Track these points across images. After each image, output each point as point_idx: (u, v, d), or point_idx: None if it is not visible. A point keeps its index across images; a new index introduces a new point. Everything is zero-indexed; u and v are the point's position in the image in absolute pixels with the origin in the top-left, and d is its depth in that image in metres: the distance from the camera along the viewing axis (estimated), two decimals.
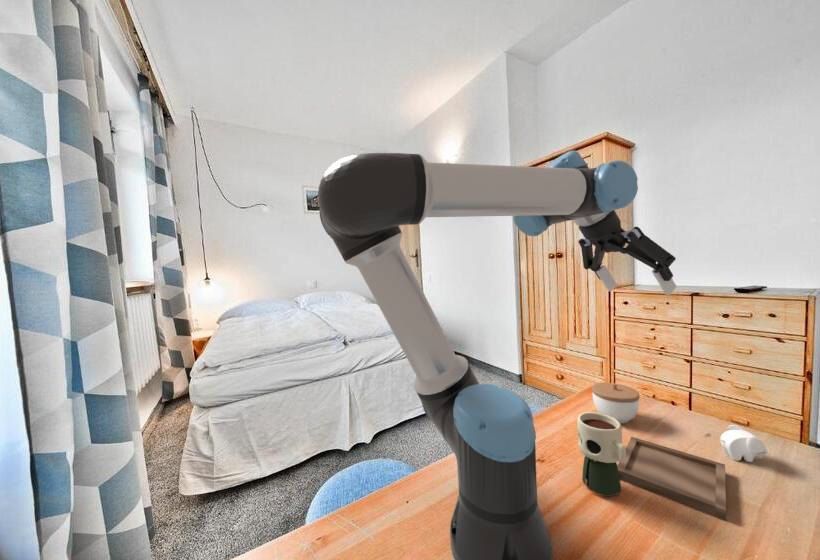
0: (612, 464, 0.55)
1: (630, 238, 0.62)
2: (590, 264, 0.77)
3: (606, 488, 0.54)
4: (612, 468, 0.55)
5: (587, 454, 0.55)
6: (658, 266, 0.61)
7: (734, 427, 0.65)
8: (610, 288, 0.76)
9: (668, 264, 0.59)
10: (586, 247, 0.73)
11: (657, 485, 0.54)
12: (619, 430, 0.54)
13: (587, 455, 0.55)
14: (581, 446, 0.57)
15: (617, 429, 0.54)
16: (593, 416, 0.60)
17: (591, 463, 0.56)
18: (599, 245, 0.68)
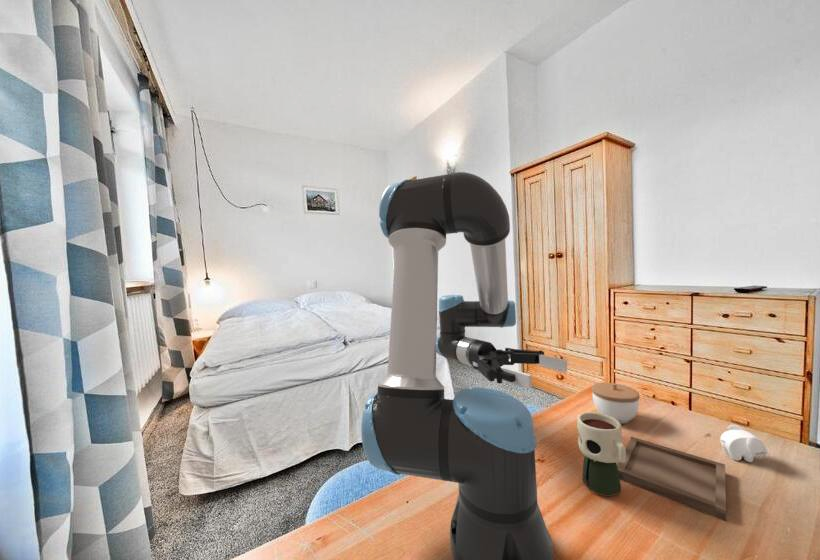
0: (612, 464, 0.55)
1: (508, 349, 0.81)
2: None
3: (606, 488, 0.54)
4: (612, 468, 0.55)
5: (587, 454, 0.55)
6: None
7: (734, 427, 0.65)
8: None
9: None
10: None
11: (657, 485, 0.54)
12: (619, 430, 0.54)
13: (587, 455, 0.55)
14: (581, 446, 0.57)
15: (617, 429, 0.54)
16: (593, 416, 0.60)
17: (591, 463, 0.56)
18: (492, 351, 0.76)
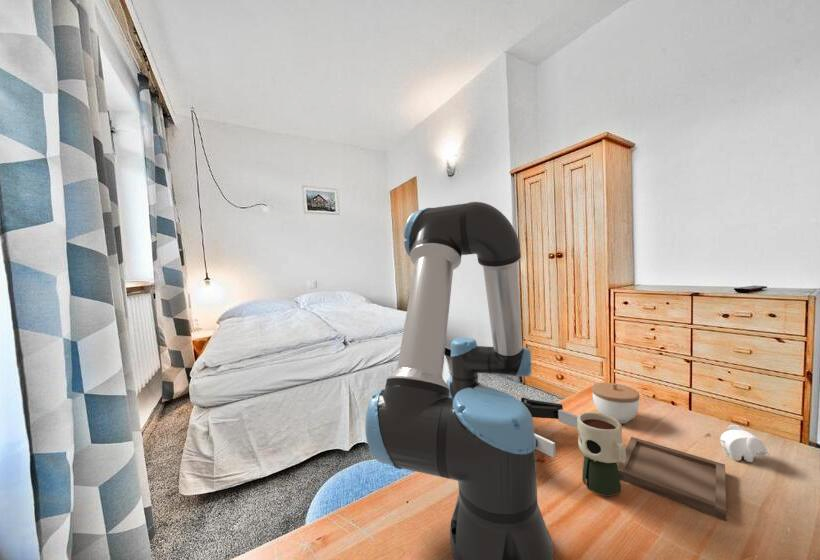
0: (612, 464, 0.55)
1: (525, 399, 0.78)
2: None
3: (606, 488, 0.54)
4: (612, 468, 0.55)
5: (587, 454, 0.55)
6: None
7: (734, 427, 0.65)
8: None
9: None
10: None
11: (657, 485, 0.54)
12: (619, 430, 0.54)
13: (587, 455, 0.55)
14: (581, 446, 0.57)
15: (617, 429, 0.54)
16: (593, 416, 0.60)
17: (591, 463, 0.56)
18: None
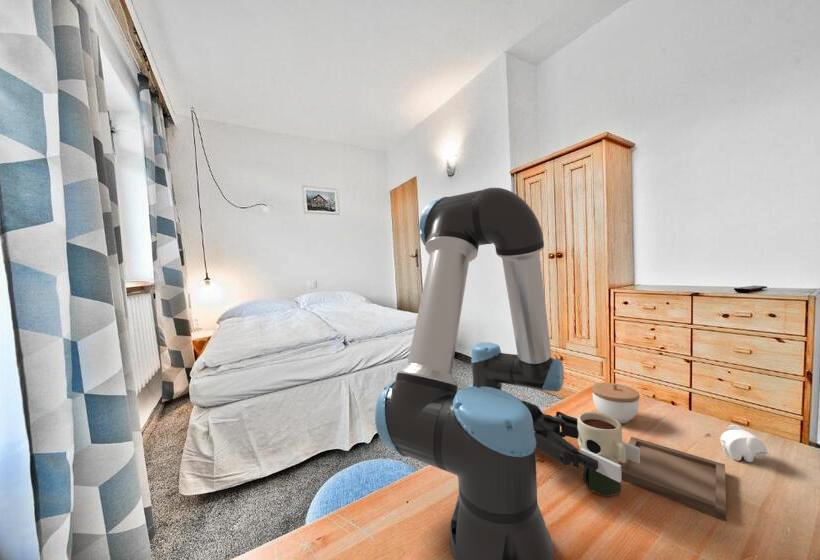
0: None
1: (560, 414, 0.69)
2: None
3: (606, 488, 0.54)
4: None
5: None
6: None
7: (735, 427, 0.65)
8: None
9: None
10: None
11: (657, 485, 0.54)
12: (619, 430, 0.54)
13: None
14: (581, 446, 0.57)
15: (617, 429, 0.54)
16: (593, 416, 0.60)
17: None
18: (540, 419, 0.66)
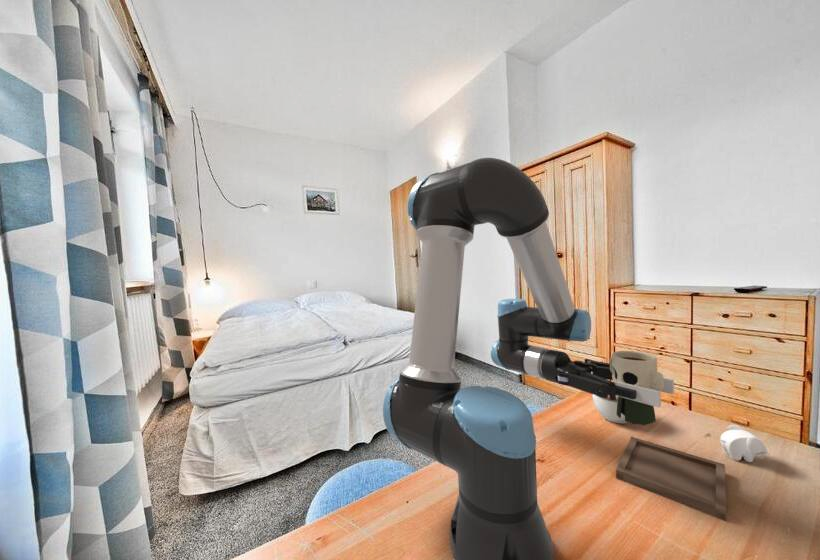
0: None
1: (588, 360, 0.71)
2: None
3: (642, 418, 0.56)
4: None
5: None
6: None
7: (734, 427, 0.65)
8: None
9: None
10: None
11: (657, 485, 0.54)
12: (655, 361, 0.56)
13: None
14: (617, 380, 0.59)
15: (653, 360, 0.56)
16: (626, 354, 0.62)
17: None
18: (571, 363, 0.68)
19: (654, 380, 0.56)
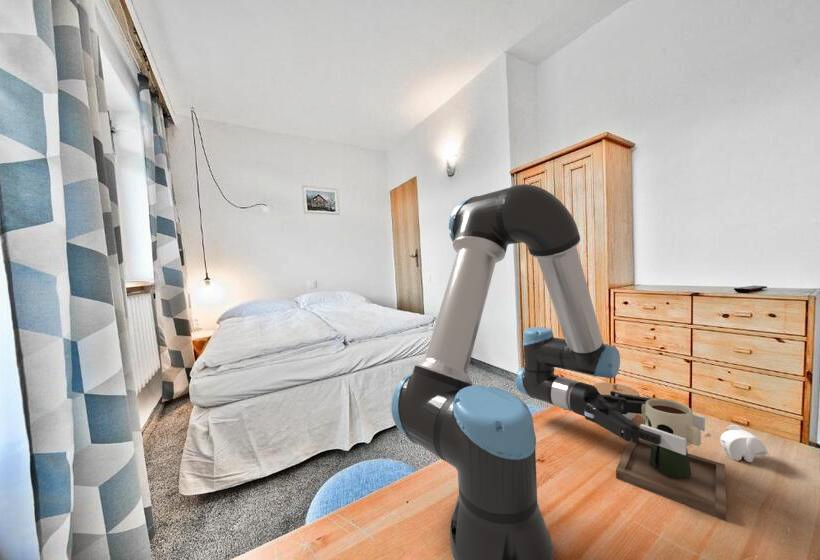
0: None
1: (615, 393, 0.71)
2: None
3: (678, 471, 0.56)
4: None
5: None
6: None
7: (734, 427, 0.65)
8: None
9: None
10: None
11: (657, 485, 0.54)
12: (691, 415, 0.56)
13: None
14: None
15: (690, 414, 0.55)
16: (659, 402, 0.61)
17: (661, 447, 0.58)
18: (602, 398, 0.68)
19: (690, 434, 0.55)
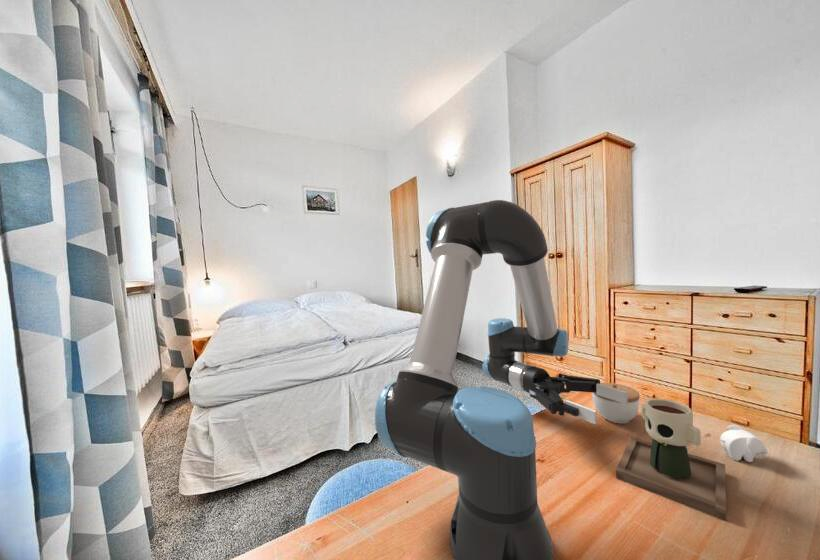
0: (683, 448, 0.57)
1: (562, 375, 0.82)
2: None
3: (678, 471, 0.56)
4: (683, 451, 0.56)
5: (658, 438, 0.57)
6: None
7: (734, 427, 0.65)
8: None
9: None
10: None
11: (657, 485, 0.54)
12: (691, 414, 0.56)
13: (658, 439, 0.57)
14: (651, 431, 0.59)
15: (689, 413, 0.55)
16: (659, 402, 0.61)
17: (661, 447, 0.58)
18: (548, 379, 0.78)
19: (690, 434, 0.55)
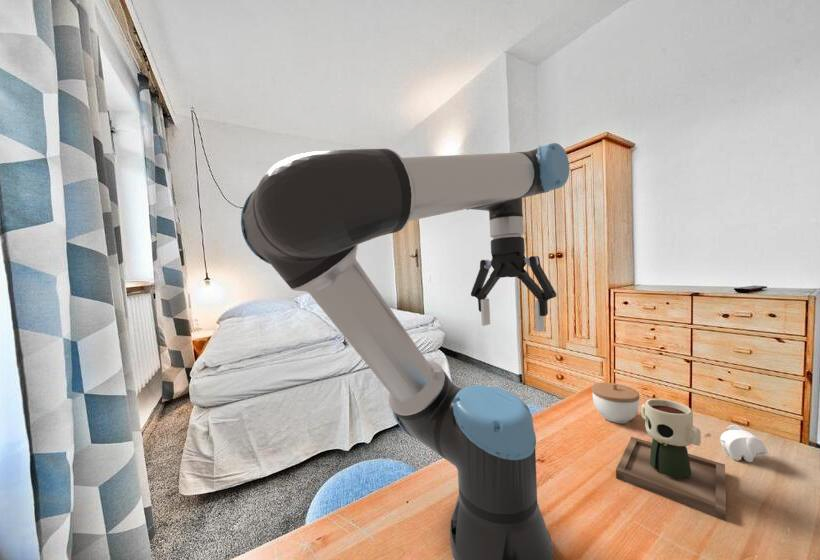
0: (683, 448, 0.57)
1: (531, 261, 0.65)
2: (477, 292, 0.76)
3: (678, 471, 0.56)
4: (683, 451, 0.56)
5: (658, 438, 0.57)
6: (542, 296, 0.64)
7: (734, 427, 0.65)
8: (485, 322, 0.74)
9: (552, 295, 0.62)
10: (484, 269, 0.74)
11: (657, 485, 0.54)
12: (691, 414, 0.56)
13: (658, 439, 0.57)
14: (651, 431, 0.59)
15: (689, 413, 0.55)
16: (659, 402, 0.61)
17: (661, 447, 0.58)
18: (500, 265, 0.69)
19: (690, 434, 0.55)
